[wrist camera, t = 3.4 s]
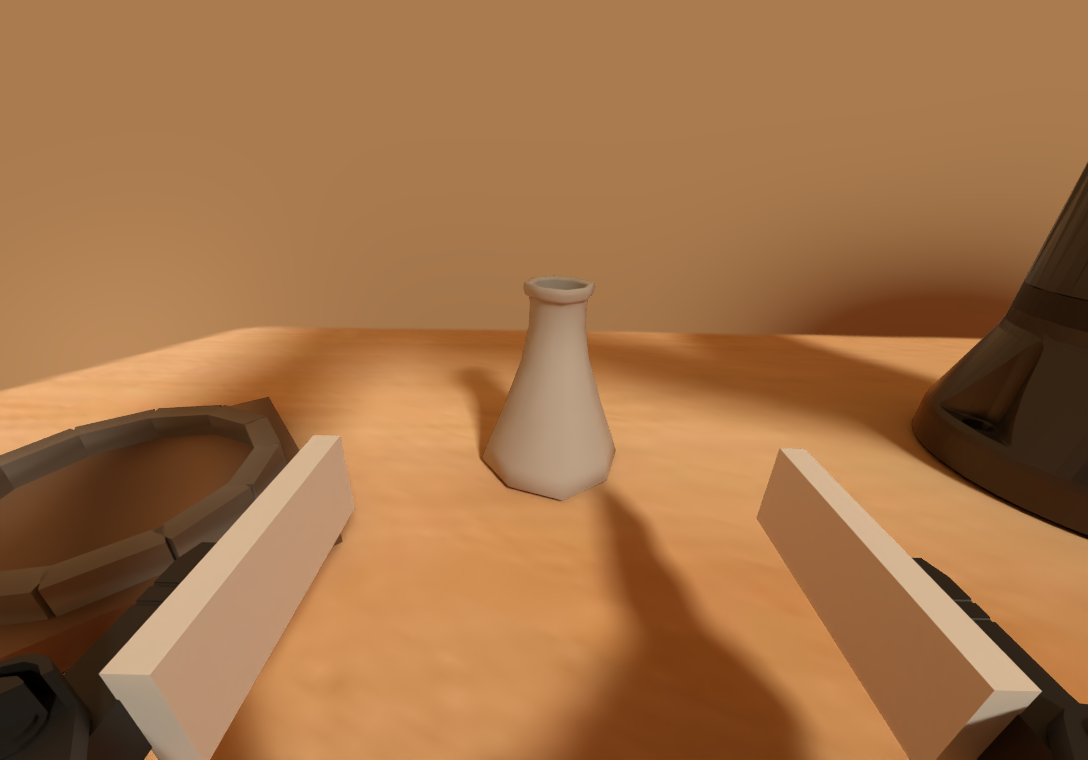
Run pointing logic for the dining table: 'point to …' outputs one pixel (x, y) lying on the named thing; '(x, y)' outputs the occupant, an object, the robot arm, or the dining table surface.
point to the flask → (553, 400)
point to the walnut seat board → (121, 514)
